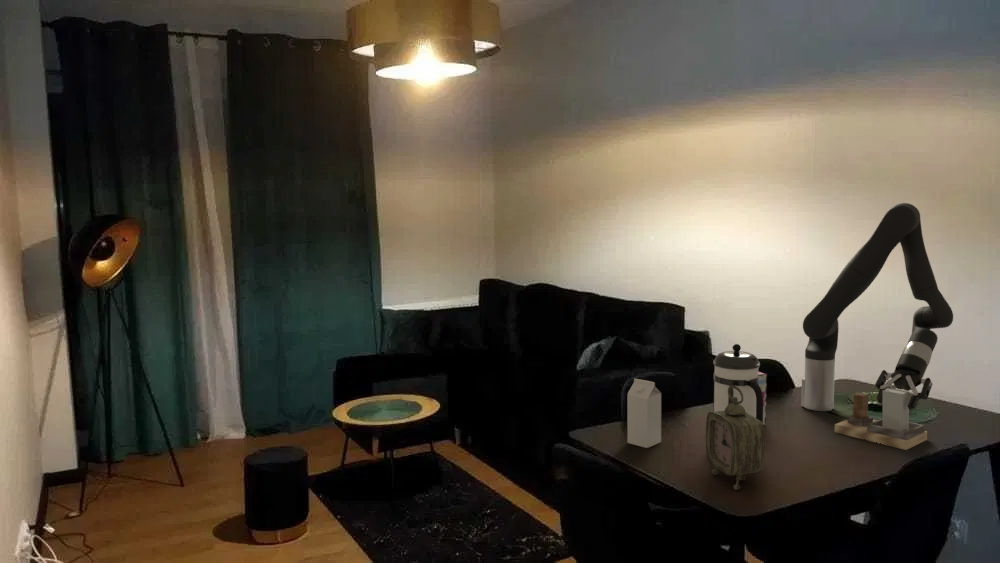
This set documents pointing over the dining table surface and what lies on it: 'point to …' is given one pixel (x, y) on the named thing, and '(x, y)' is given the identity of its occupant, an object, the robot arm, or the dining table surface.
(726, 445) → the tabletop clock
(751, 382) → the coffee press
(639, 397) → the milk carton
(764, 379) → the candy bar box
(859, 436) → the wooden board
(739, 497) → the dining table surface
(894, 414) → the skincare box
